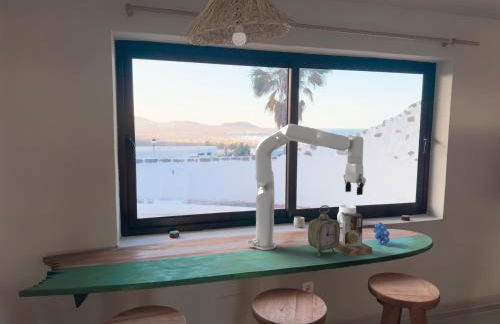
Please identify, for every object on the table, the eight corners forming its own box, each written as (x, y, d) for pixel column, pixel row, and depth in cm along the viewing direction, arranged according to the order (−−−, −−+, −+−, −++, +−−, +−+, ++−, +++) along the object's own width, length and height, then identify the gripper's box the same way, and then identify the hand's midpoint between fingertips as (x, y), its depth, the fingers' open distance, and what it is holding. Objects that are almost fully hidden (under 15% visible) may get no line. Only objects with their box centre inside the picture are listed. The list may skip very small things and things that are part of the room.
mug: (344, 229, 219) (345, 209, 218) (331, 225, 228) (331, 206, 227) (358, 226, 227) (359, 206, 226) (345, 222, 236) (346, 204, 235)
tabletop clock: (318, 259, 166) (319, 208, 164) (305, 253, 173) (307, 204, 171) (339, 253, 173) (341, 205, 171) (326, 248, 181) (327, 202, 179)
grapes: (367, 241, 194) (368, 221, 193) (377, 240, 196) (378, 220, 195) (382, 248, 183) (383, 226, 182) (392, 246, 185) (393, 225, 185)
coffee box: (358, 242, 182) (360, 213, 181) (362, 246, 176) (363, 215, 174) (341, 242, 182) (342, 212, 181) (344, 246, 176) (345, 215, 175)
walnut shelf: (348, 256, 170) (348, 250, 170) (333, 247, 183) (333, 241, 183) (371, 253, 175) (372, 247, 175) (355, 244, 188) (355, 239, 188)
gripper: (339, 159, 182) (338, 190, 184) (359, 161, 166) (357, 196, 168) (351, 159, 185) (349, 190, 186) (372, 161, 169) (370, 195, 170)
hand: (353, 193), depth 177 cm, fingers open, 9 cm apart
